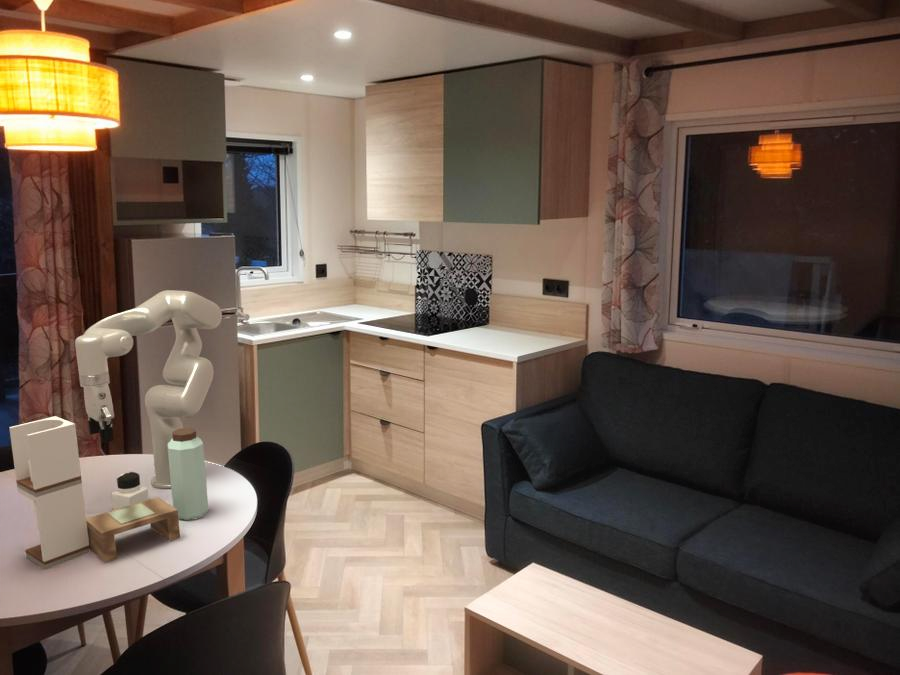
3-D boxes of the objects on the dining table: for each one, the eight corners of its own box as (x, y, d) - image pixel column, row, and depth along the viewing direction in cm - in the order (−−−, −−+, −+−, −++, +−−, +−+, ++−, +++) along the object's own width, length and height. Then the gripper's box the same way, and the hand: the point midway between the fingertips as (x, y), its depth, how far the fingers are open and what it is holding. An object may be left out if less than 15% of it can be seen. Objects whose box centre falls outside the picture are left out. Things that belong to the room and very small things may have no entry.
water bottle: (216, 513, 230) (209, 430, 225) (184, 524, 223) (176, 439, 218) (198, 504, 237) (191, 423, 232) (166, 514, 230) (158, 432, 224)
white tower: (70, 541, 214) (55, 416, 207) (89, 552, 207) (75, 423, 200) (26, 557, 205) (9, 427, 198) (45, 569, 199) (28, 435, 192)
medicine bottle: (150, 510, 233) (146, 471, 230) (131, 520, 226) (127, 480, 224) (132, 506, 236) (128, 468, 233) (112, 516, 229) (108, 476, 227)
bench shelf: (161, 523, 224) (158, 496, 222) (180, 537, 215) (177, 508, 214) (87, 547, 210) (84, 517, 209) (104, 562, 202) (101, 532, 200)
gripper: (119, 382, 217) (126, 441, 221) (98, 370, 230) (105, 427, 234) (90, 387, 212) (98, 448, 216) (70, 375, 225) (78, 433, 229)
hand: (101, 437), depth 225 cm, fingers open, 9 cm apart
